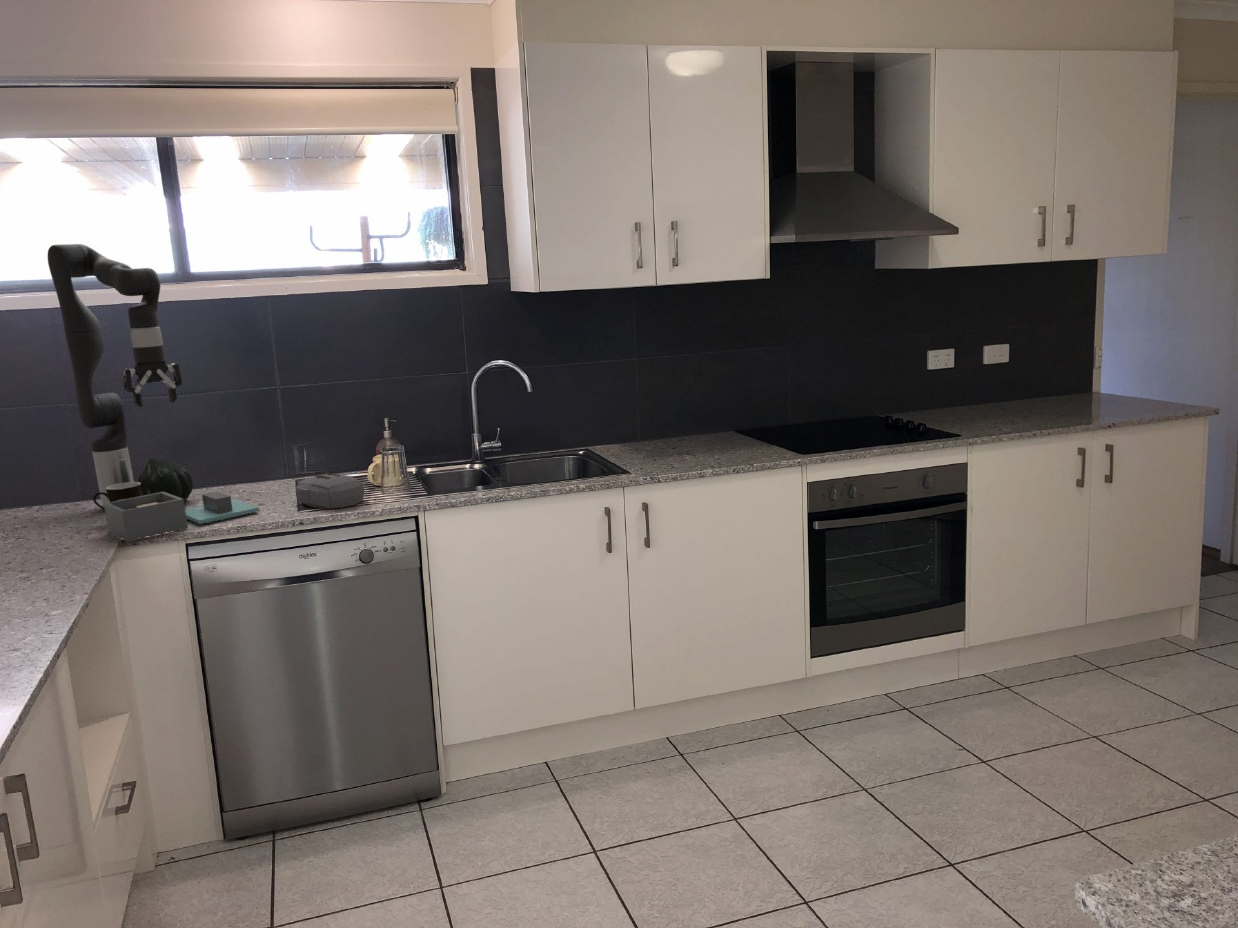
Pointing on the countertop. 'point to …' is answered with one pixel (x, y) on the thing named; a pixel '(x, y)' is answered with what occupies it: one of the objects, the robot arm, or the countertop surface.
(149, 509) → the storage box
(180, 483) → the squash
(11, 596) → the countertop surface
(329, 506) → the soft grey pack
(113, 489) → the coffee mug
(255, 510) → the lid
